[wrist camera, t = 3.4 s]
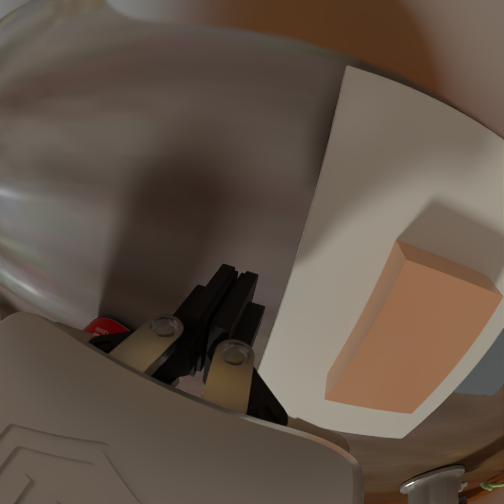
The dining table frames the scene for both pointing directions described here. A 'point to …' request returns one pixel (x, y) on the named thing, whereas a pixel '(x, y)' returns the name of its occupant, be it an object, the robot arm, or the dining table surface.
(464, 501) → the tissue box cover
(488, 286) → the tile
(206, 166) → the dining table surface
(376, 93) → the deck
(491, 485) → the figurine
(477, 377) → the mat
